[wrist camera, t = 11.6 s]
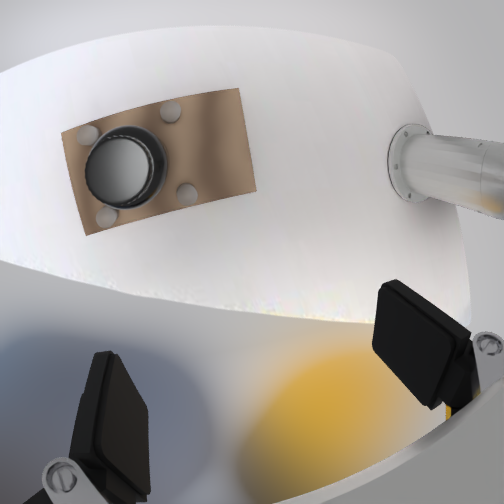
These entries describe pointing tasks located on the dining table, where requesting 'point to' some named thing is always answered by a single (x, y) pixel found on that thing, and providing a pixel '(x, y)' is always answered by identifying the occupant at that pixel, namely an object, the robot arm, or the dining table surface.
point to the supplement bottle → (127, 167)
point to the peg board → (172, 155)
